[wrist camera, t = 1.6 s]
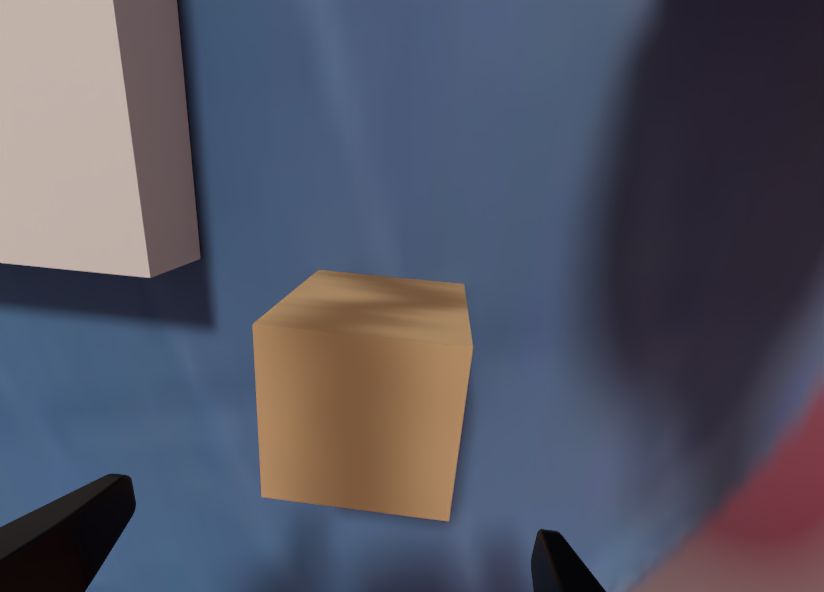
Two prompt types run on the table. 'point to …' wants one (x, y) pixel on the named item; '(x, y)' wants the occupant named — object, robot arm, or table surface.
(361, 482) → the oak cube
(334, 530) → the table surface
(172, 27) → the beige square block
